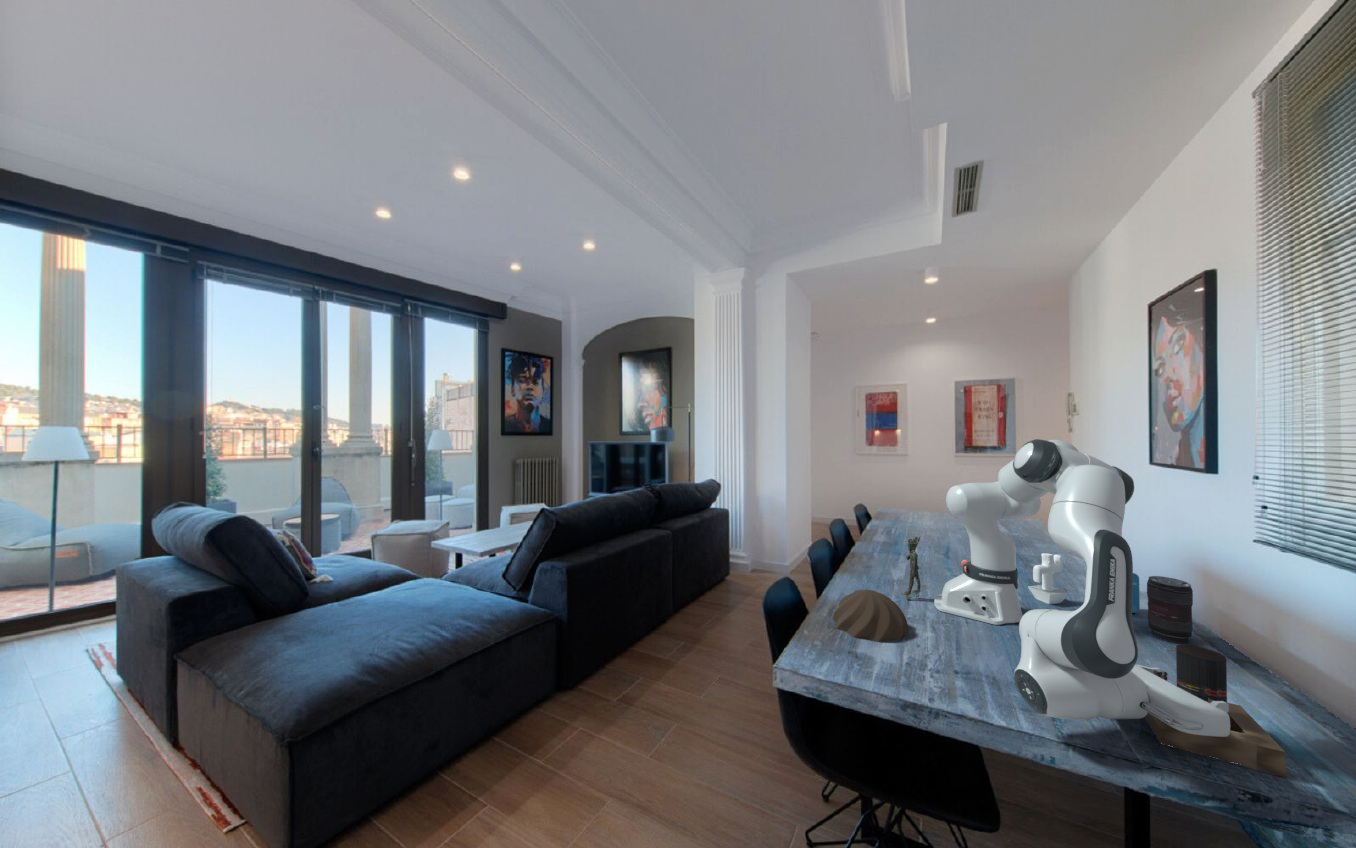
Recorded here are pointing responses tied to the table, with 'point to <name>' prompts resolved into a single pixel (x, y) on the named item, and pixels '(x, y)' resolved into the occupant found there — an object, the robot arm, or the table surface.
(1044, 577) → the figurine
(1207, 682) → the deodorant
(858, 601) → the decorative dome
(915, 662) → the table surface
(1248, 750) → the block
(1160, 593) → the camera lens
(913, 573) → the statue
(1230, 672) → the table surface
